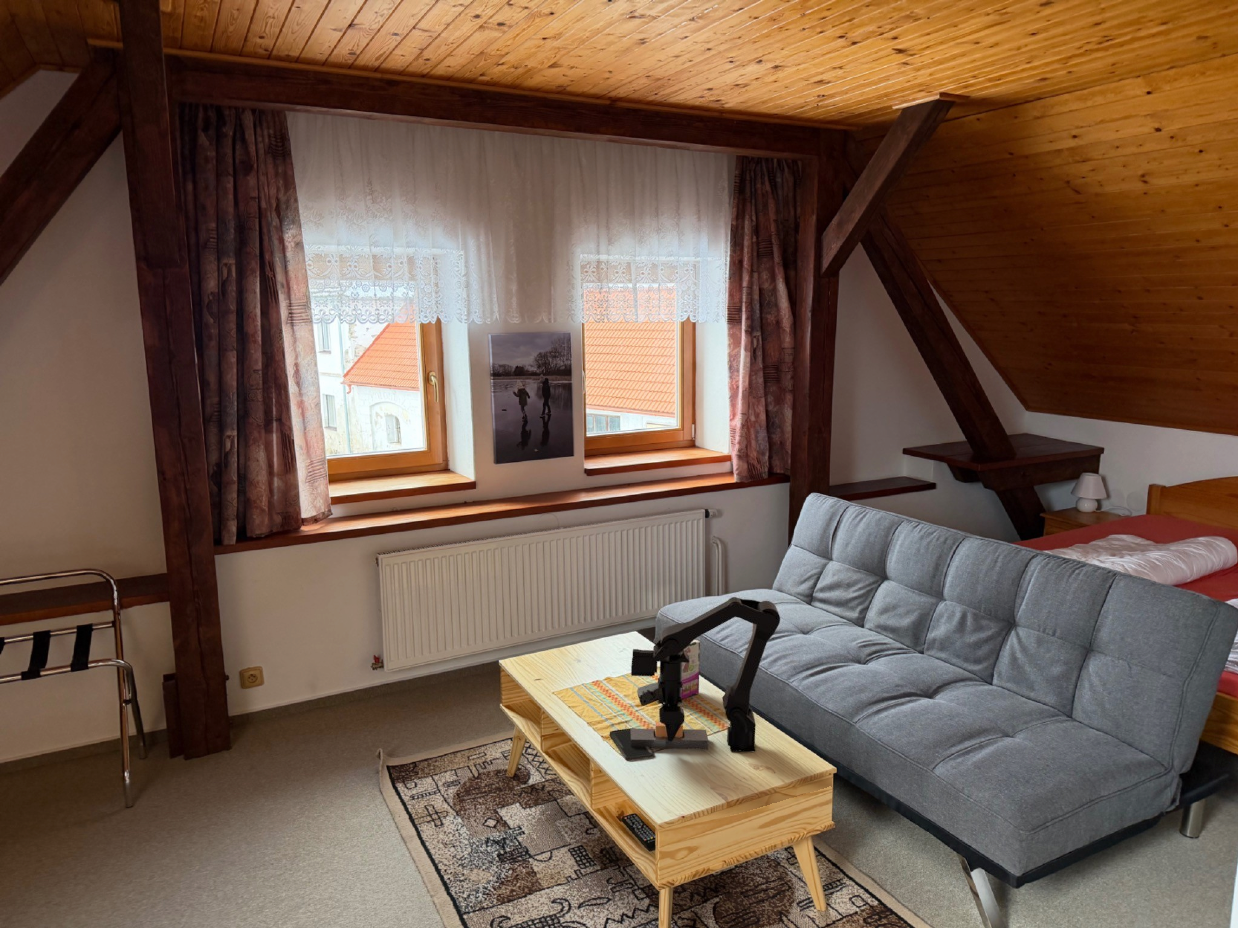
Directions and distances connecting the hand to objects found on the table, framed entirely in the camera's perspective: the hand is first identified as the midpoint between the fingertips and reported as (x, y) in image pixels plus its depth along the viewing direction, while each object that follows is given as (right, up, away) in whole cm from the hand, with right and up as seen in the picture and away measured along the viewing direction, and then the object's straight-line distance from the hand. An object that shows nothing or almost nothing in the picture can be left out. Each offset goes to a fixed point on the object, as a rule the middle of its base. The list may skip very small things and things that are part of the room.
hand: (669, 732), depth 234 cm
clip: (0, -3, +1) cm, 3 cm away
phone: (-10, -4, -1) cm, 11 cm away
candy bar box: (+5, +2, +29) cm, 30 cm away
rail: (0, -3, +1) cm, 3 cm away
